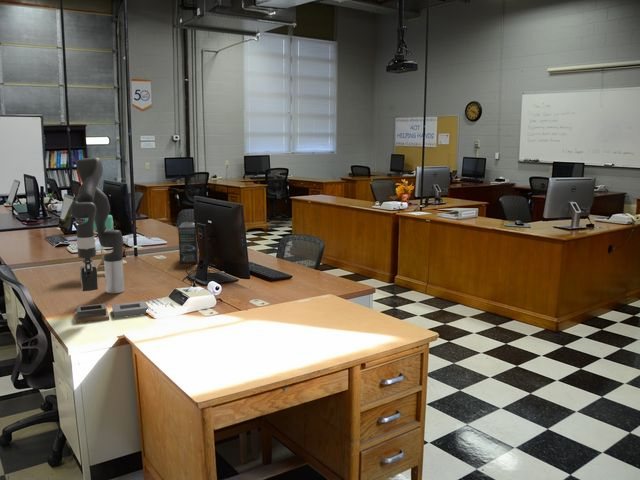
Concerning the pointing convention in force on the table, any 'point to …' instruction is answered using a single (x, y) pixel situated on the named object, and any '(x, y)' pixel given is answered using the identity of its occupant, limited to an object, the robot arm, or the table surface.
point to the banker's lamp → (101, 266)
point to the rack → (91, 313)
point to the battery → (84, 282)
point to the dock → (129, 309)
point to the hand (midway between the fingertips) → (89, 283)
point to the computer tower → (188, 243)
